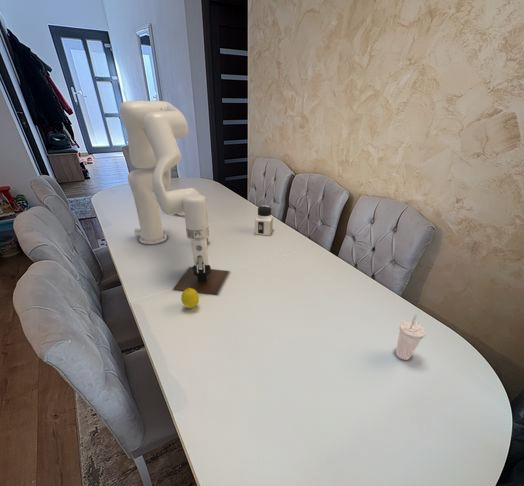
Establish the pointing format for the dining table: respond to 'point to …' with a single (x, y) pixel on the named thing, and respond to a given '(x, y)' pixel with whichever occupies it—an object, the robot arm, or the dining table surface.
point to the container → (264, 221)
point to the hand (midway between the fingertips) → (202, 275)
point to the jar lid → (207, 267)
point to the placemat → (208, 287)
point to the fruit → (190, 298)
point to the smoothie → (409, 338)
